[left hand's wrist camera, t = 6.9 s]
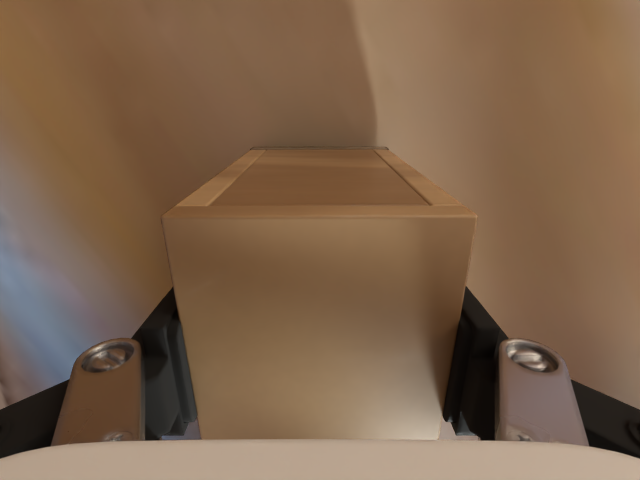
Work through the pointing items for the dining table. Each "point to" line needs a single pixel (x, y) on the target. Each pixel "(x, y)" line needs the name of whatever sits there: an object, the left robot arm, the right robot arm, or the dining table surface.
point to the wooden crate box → (319, 295)
